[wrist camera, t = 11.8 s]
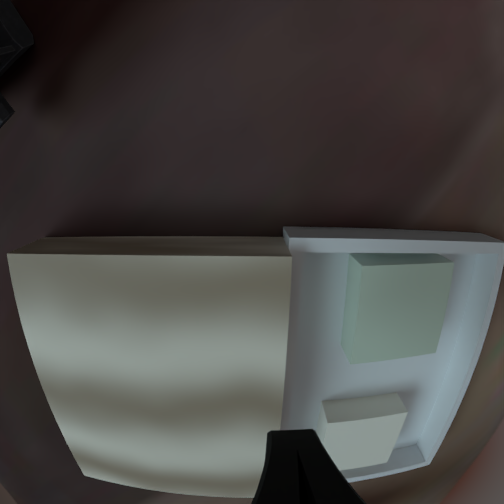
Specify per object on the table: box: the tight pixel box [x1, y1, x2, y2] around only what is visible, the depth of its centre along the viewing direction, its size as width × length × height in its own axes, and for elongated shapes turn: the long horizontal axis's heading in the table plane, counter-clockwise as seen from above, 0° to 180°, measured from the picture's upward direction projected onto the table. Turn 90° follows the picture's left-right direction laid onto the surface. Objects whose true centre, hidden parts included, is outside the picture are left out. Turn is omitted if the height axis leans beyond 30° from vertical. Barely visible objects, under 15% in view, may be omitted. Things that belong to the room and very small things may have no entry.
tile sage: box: [341, 253, 454, 364], centre depth 15 cm, size 5×5×2 cm
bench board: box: [7, 236, 292, 498], centre depth 16 cm, size 16×13×4 cm
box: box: [280, 226, 504, 482], centre depth 16 cm, size 17×12×2 cm
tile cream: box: [316, 392, 408, 471], centre depth 17 cm, size 5×5×2 cm
